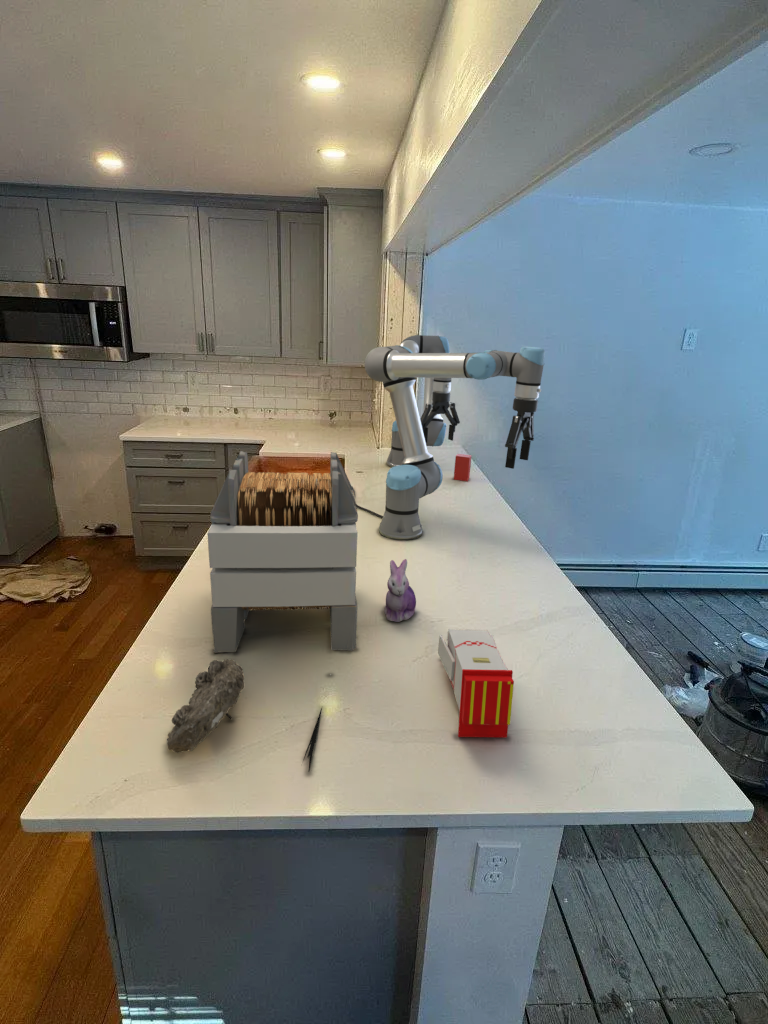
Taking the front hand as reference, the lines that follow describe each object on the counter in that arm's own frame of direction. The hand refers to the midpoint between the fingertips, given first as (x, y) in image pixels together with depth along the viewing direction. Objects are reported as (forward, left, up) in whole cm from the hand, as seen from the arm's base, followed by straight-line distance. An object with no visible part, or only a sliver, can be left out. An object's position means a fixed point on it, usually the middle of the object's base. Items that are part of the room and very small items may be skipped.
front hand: (516, 463), depth 185 cm
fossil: (+21, -116, -29) cm, 122 cm away
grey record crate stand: (-3, -85, -29) cm, 90 cm away
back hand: (-61, +26, -8) cm, 66 cm away
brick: (-63, +47, -29) cm, 83 cm away
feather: (+34, -101, -29) cm, 110 cm away
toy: (+46, -71, -29) cm, 89 cm away
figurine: (+13, -62, -29) cm, 69 cm away
